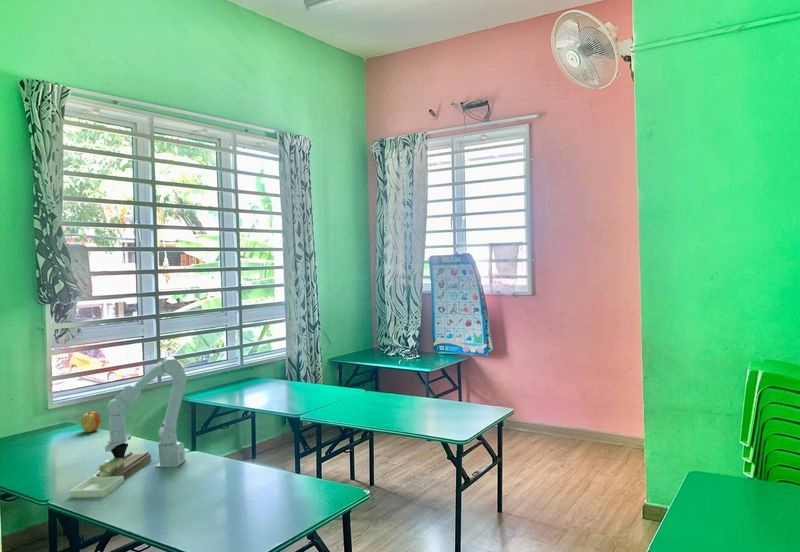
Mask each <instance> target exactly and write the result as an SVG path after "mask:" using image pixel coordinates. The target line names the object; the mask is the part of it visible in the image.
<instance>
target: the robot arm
mask: <svg viewBox="0 0 800 552" xmlns="http://www.w3.org/2000/svg"><path fill="white" fill-rule="evenodd" d="M165 374H166V375H168V376H170V377H171V378H172V379H173V382H172V387H171V390H170V391H171V392H170V395H169V399H168V403H167V407H166V410H165V411H166V412H165V414H164V418H163V420H162V424H161V425H160V427H159V428H158V430H157V435H158V437H159V439H160V440H159V441H158V443H157V445H158V458H159V463H158V464H156V465H155V468H178V467H179V466H180V465H181V464H183V463H184V462H185V461H187V458H186V453H185V444H184V443H183V442H180V441H178V439H177V437H178V435H177V428H178V427H177V424H178V417H179V413H180V408H181V405H182V400H183V397H184V393H185V388H186V384H187V379H188V378H187V375H186V372H185V371H184V367H183V365H182V364H181V363H180V362H179V361H178V360H177V358H175V357H174V356H172V355H168V356H165V357H164V358H162V360H159V361H158V362H157V363H155V365H154V366H153V367H151V368H150V369H149V370H148V371H147V372H146V373H145V374H144V375H143V376H142V377H141V378H140V379H138V381H136V383H134V384H129V385H125V386H124V387H123V390H122V391H121V392H120V393H119V394H117V395H114V398H113V399H111V400H109V402H108V404H107V406H106V408H107V410H108V427H109V428H108V429H109V440H107V445H105V446H104V451H105V452H111V454H112V455H113V458H123V461H124V456H125V455H126V451H127V449H128V446H129V443H126V442H127V441H130V440H131V439H132V434H130V433H129V434H127V431H126V417H125V416H124V415H125V414H124V413H125V410H126V407H128V406H130V405H131V403H133V402H134V401H135V400H136V399H137V398H138V397H140V396H141V390H143V389H144V388H145V387H147V385H148V384H150V383H151V382H152V381H154V379H156V378H157V377H162V376H165Z"/></svg>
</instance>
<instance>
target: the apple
mask: <svg viewBox="0 0 800 552" xmlns="http://www.w3.org/2000/svg"><path fill="white" fill-rule="evenodd" d="M101 418H102V417H101V415H100V414H99V412H97V411H88V412H86V413H85V414H83V415H82V416H81V418H80V425H81V428H82V429H83V431H84V432H85V433H89V432H90V433H93V431H94V432H95V431H97V430H98V429H99V427H100V425H101V422H102V421H101V420H102V419H101Z"/></svg>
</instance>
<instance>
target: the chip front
mask: <svg viewBox="0 0 800 552" xmlns="http://www.w3.org/2000/svg"><path fill="white" fill-rule="evenodd" d="M98 468H99V471H100V476H110V475H112V474H113V473H115V472H116V466H115V462H104V461H103V462H102V463H101V464H100V465H99V466H98Z"/></svg>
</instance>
